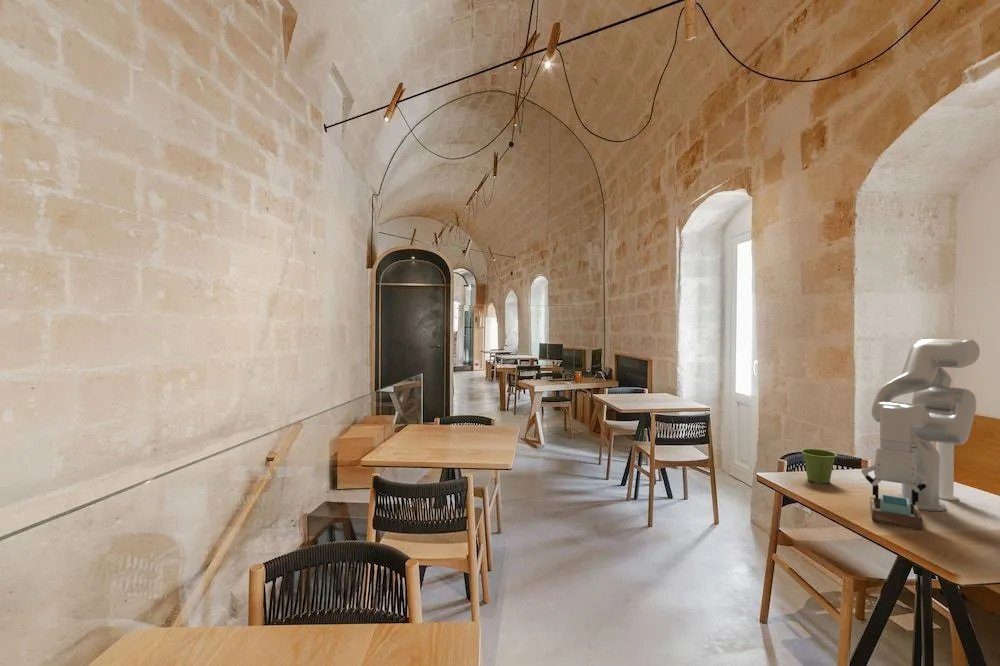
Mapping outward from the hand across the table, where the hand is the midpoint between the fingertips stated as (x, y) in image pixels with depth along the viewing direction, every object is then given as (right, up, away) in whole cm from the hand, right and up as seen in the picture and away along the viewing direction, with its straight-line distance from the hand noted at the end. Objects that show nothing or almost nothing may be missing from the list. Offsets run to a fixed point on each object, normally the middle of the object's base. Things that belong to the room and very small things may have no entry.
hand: (894, 500), depth 151 cm
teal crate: (-1, -5, -1) cm, 5 cm away
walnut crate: (0, -6, 0) cm, 6 cm away
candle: (+33, -6, +19) cm, 39 cm away
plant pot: (+1, -5, +37) cm, 37 cm away
